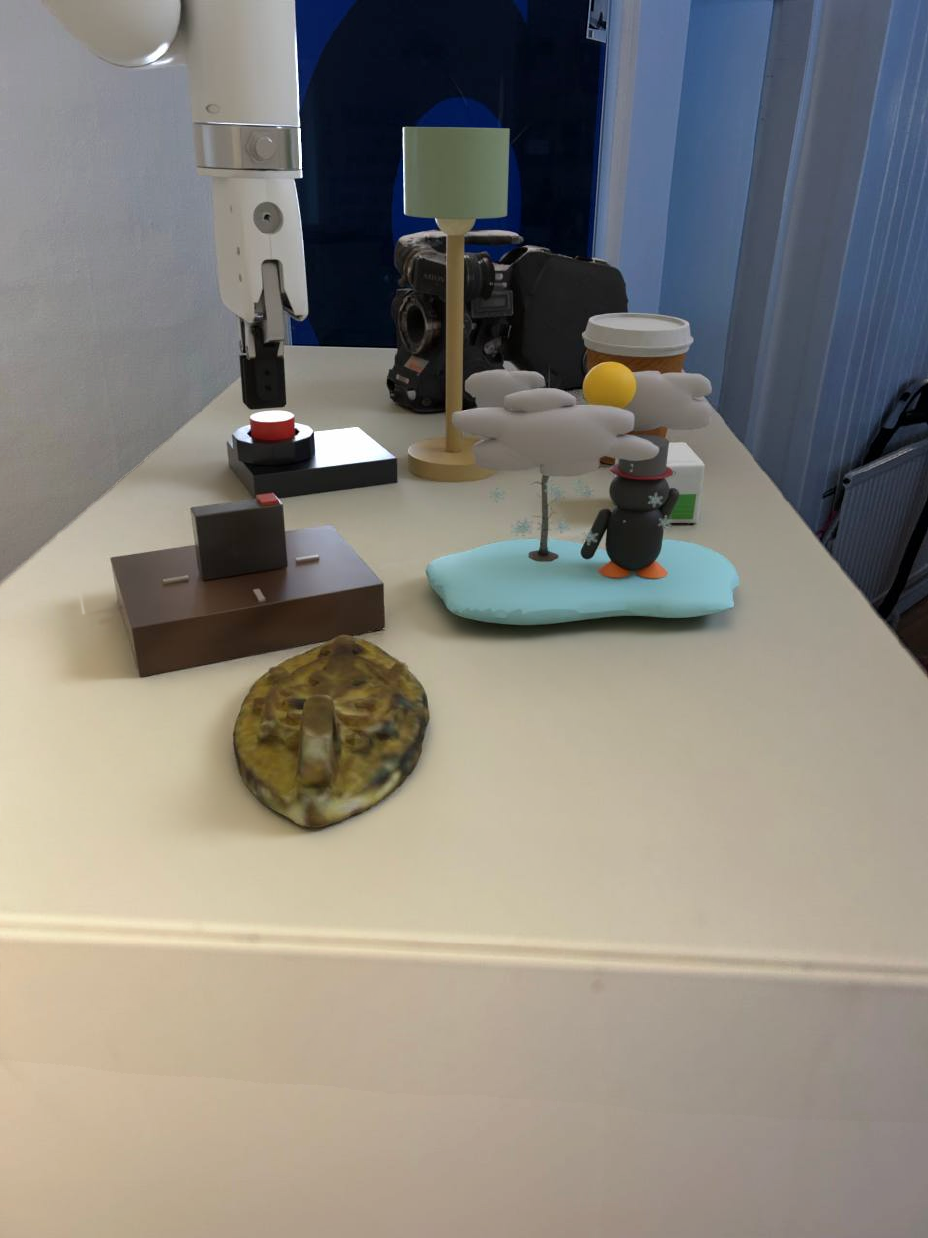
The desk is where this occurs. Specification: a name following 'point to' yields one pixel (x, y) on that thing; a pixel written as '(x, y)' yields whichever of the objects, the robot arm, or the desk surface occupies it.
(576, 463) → the penguin figurine
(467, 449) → the desk lamp
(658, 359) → the disposable coffee cup
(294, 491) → the switch block
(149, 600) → the dimmer panel
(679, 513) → the small box
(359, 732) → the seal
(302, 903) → the desk surface
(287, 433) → the lamp switch
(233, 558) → the dark grey block
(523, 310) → the movie camera
